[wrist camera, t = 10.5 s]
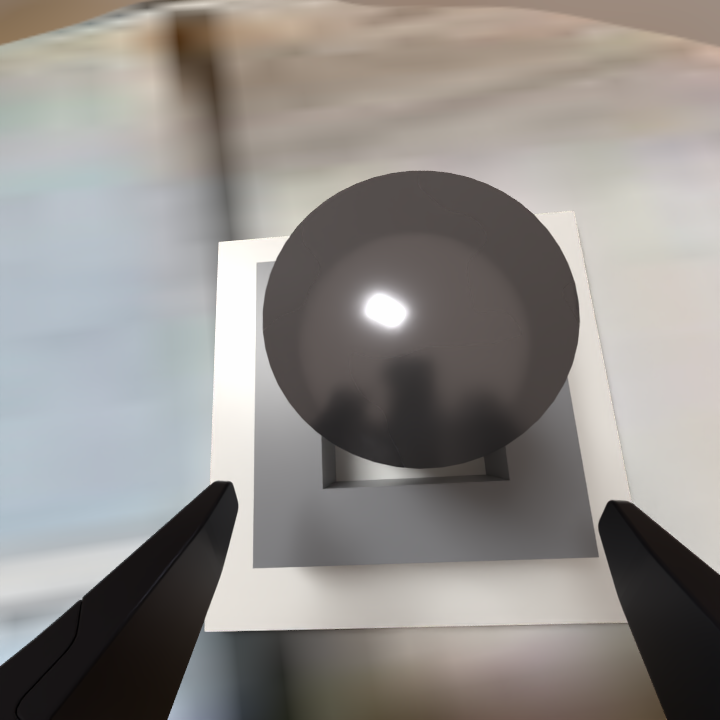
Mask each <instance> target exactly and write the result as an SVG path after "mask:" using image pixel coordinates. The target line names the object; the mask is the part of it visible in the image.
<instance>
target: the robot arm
mask: <svg viewBox="0 0 720 720" xmlns="http://www.w3.org/2000/svg"><path fill="white" fill-rule="evenodd" d="M238 506H239V505H238V499H237V496H236V492H235V489H234V485H233V483H232V482H231V481H220V480H218V481H215V482H213V483H212V484H211V485H209V486H208V487H207V488H206V489H205V490H204V491H203V492H201V493H200V494H199V495H198V496H197V497H196V498H195V499H193V500H192V501H191V502H190V503H189V504H188V505H187V506H186V507H184V508H183V509H182V510H181V511H180V512H179V513H178V514H176V515H175V516H174V517H173V518H172V519H171V520H170V521H169V522H167V523H166V524H165V525H164V526H163V527H162V528H161V529H159V530H158V531H157V532H156V533H155V534H154V535H153V536H152V537H150V538H149V539H148V540H147V541H146V542H145V543H144V544H142V545H141V546H140V547H139V548H138V549H137V550H136V551H134V552H133V553H132V554H131V555H130V556H129V557H128V558H127V559H125V560H124V561H123V562H122V563H121V564H120V565H119V566H117V567H116V568H115V569H114V570H113V571H112V572H111V573H110V574H108V575H107V576H106V577H105V578H104V579H103V580H102V581H100V582H99V583H98V584H97V585H96V586H95V587H94V588H93V589H91V590H90V591H89V592H88V593H87V594H86V595H85V596H84V597H83V598H82V600H79V601H78V602H76V603H75V604H74V605H73V606H72V607H71V608H70V609H69V610H67V611H66V612H65V613H64V614H63V615H62V616H61V617H59V618H58V619H57V620H56V621H55V622H53V623H52V624H51V625H50V626H49V627H48V628H46V629H45V630H44V631H43V632H42V633H41V634H39V635H38V636H37V637H36V638H35V639H33V640H32V641H31V642H30V643H28V644H27V645H26V646H25V647H23V648H22V649H21V650H20V651H18V652H17V653H16V654H15V655H13V656H12V657H11V658H10V659H8V660H7V661H6V662H5V663H3V664H2V665H1V666H0V720H167V719H168V716H169V714H170V711H171V708H172V706H173V703H174V700H175V698H176V695H177V692H178V690H179V687H180V684H181V682H182V679H183V676H184V674H185V671H186V668H187V666H188V663H189V660H190V657H191V655H192V652H193V649H194V647H195V644H196V641H197V639H198V636H199V633H200V631H201V628H202V625H203V623H204V620H205V617H206V615H207V612H208V609H209V607H210V604H211V601H212V598H213V596H214V593H215V590H216V588H217V585H218V582H219V579H220V577H221V574H222V570H223V567H224V563H225V560H226V556H227V552H228V548H229V544H230V540H231V536H232V533H233V529H234V525H235V521H236V517H237V513H238ZM598 531H599V535H600V538H601V542H602V545H603V549H604V552H605V555H606V559H607V562H608V566H609V569H610V572H611V576H612V579H613V583H614V586H615V589H616V593H617V596H618V599H619V602H620V604H621V607H622V609H623V612H624V615H625V617H626V619H627V622H628V624H629V627H630V629H631V632H632V634H633V637H634V639H635V642H636V644H637V647H638V649H639V651H640V654H641V656H642V659H643V661H644V664H645V666H646V669H647V671H648V674H649V676H650V679H651V681H652V683H653V686H654V688H655V691H656V693H657V696H658V698H659V701H660V703H661V706H662V708H663V710H664V713H665V715H666V718H667V720H720V575H719V574H718V573H717V572H716V571H714V570H713V569H712V568H711V567H710V566H708V565H707V564H706V563H705V562H703V561H702V560H701V559H700V558H699V557H697V556H696V555H695V554H694V553H692V552H691V551H690V550H689V549H688V548H686V547H685V546H684V545H683V544H682V543H680V542H679V541H678V540H677V539H675V538H674V537H673V536H672V535H671V534H669V533H668V532H667V531H666V530H664V529H663V528H662V527H661V526H660V525H658V524H657V523H656V522H655V521H654V520H652V519H651V518H650V517H649V516H647V515H646V514H645V513H644V512H643V511H641V510H640V509H639V508H638V507H636V506H635V505H634V504H633V503H631V502H629V501H625V500H610V501H608V502H607V504H606V506H605V509H604V511H603V513H602V515H601V517H600V519H599V522H598Z"/></svg>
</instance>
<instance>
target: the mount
mask: <svg viewBox="0 0 720 720" xmlns="http://www.w3.org/2000/svg"><path fill="white" fill-rule="evenodd" d="M534 215H535V216H536V217H537V218H538V219H539V221H540V222H541V223H542V224H543V225H544V226H545V227H546V228H547V229H548V231H549V232H550V233H551V235H552V236H553V238H554V239H555V240H556V242H557V243H558V245H559V246H560V248H561V250H562V252H563V254H564V256H565V258H566V260H567V262H568V264H569V267H570V270H571V272H572V275H573V278H574V281H575V285H576V290H577V295H578V300H579V313H580V327H579V338H578V345H577V349H576V353H575V357H574V361H573V364H572V367H571V369H570V372H569V374H568V377H567V379H566V382H565V384H564V385H563V387H562V389H561V390H560V392H559V394H558V395H557V397H556V399H555V400H554V402H553V403H552V404H551V406H550V407H549V408H548V409H547V411H546V412H545V413H544V414H543V415H542V417H541V418H540V419H539V420H538V421H537V422H536V423H535V424H533V425H532V426H531V427H530V428H529V429H528V430H527V431H526V432H525V433H524V434H522V435H521V436H519V437H518V438H516V439H515V440H513V441H512V442H511V443H509V444H508V445H506V446H504V447H502V448H500V449H498V450H496V451H494V452H492V453H490V454H488V455H486V456H484V457H481V458H478V459H475V460H472V461H469V462H466V463H463V464H458V465H452V466H447V467H442V468H425V469H414V468H402V467H394V466H389V465H384V464H380V463H375V462H372V461H369V460H367V459H364V458H361V457H358V456H355V455H353V454H351V453H349V452H347V451H345V450H343V449H341V448H340V447H338V446H336V445H334V444H333V443H331V442H330V441H328V440H327V439H325V438H324V437H323V436H321V435H320V434H318V433H317V432H316V431H315V430H314V429H313V428H312V427H311V426H309V425H308V424H307V423H306V422H305V421H304V420H303V419H302V418H301V417H300V416H299V414H298V413H297V412H296V411H295V409H294V408H293V407H292V406H291V405H290V403H289V402H288V400H287V399H286V397H285V395H284V394H283V392H282V390H281V389H280V387H279V386H278V383H277V381H276V379H275V377H274V374H273V372H272V370H271V367H270V364H269V360H268V357H267V353H266V350H265V343H264V336H263V304H264V296H265V291H266V287H267V283H268V280H269V276H270V273H271V271H272V268H273V266H274V263H275V261H276V258H277V256H278V255H279V253H280V251H281V249H282V248H283V246H284V244H285V242H286V241H287V240H288V238H289V237H290V236H283V237H272V238H260V239H249V240H238V241H227V242H219V253H218V280H217V307H216V334H215V362H214V389H213V416H212V443H211V471H210V485H211V484H212V483H213V482H215V481H218V480H220V481H231V482H232V483H233V485H234V489H235V492H236V496H237V499H238V505H239V506H238V513H237V517H236V521H235V525H234V529H233V533H232V536H231V540H230V544H229V548H228V552H227V556H226V560H225V563H224V567H223V570H222V574H221V577H220V579H219V582H218V585H217V588H216V590H215V593H214V596H213V598H212V601H211V604H210V607H209V609H208V612H207V615H206V617H205V632H213V631H260V630H306V629H352V628H399V627H445V626H491V625H538V624H584V623H628V622H627V619H626V617H625V615H624V612H623V609H622V607H621V604H620V602H619V599H618V596H617V593H616V589H615V586H614V583H613V579H612V576H611V572H610V569H609V566H608V562H607V559H606V555H605V552H604V549H603V545H602V542H601V538H600V535H599V531H598V522H599V519H600V517H601V515H602V513H603V511H604V509H605V506H606V504H607V502H608V501H610V500H625V501H629V502H631V503H632V501H631V496H630V491H629V486H628V481H627V476H626V471H625V466H624V461H623V456H622V450H621V445H620V440H619V435H618V430H617V425H616V420H615V415H614V410H613V405H612V400H611V395H610V390H609V385H608V380H607V375H606V370H605V365H604V360H603V355H602V350H601V345H600V340H599V335H598V330H597V325H596V319H595V314H594V309H593V304H592V299H591V294H590V289H589V284H588V279H587V274H586V269H585V264H584V259H583V254H582V249H581V244H580V239H579V234H578V229H577V224H576V219H575V214H574V211H565V212H554V213H542V214H534Z"/></svg>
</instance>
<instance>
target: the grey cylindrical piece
mask: <svg viewBox="0 0 720 720" xmlns="http://www.w3.org/2000/svg"><path fill="white" fill-rule="evenodd" d="M579 327H580V313H579V300H578V295H577V290H576V285H575V281H574V278H573V275H572V272H571V270H570V267H569V264H568V262H567V260H566V258H565V256H564V254H563V252H562V250H561V248H560V246H559V245H558V243H557V242H556V240H555V239H554V238H553V236H552V235H551V233H550V232H549V231H548V229H547V228H546V227H545V226H544V225H543V224H542V223H541V222H540V221H539V219H538V218H537V217H536V216H535V215H534V214H533V213H531V212H530V211H529V210H528V209H527V208H525V207H524V206H523V205H522V204H521V203H519V202H518V201H516V200H515V199H513V198H512V197H510V196H509V195H507V194H506V193H504V192H502V191H500V190H498V189H496V188H494V187H492V186H490V185H488V184H486V183H483V182H480V181H477V180H475V179H472V178H469V177H465V176H461V175H456V174H452V173H445V172H436V171H406V172H398V173H391V174H387V175H382V176H378V177H374V178H371V179H368V180H365V181H363V182H360V183H357V184H355V185H353V186H351V187H349V188H347V189H345V190H342V191H340V192H339V193H337V194H336V195H334V196H332V197H331V198H329V199H328V200H326V201H325V202H323V203H322V204H321V205H320V206H318V207H317V208H316V209H315V210H314V211H312V212H311V213H310V214H309V215H308V216H307V217H306V218H305V219H304V220H303V221H302V222H301V223H300V224H299V225H298V226H297V228H296V229H295V230H294V232H293V233H292V234H291V236H290V237H289V238H288V240H287V241H286V242H285V244H284V246H283V248H282V249H281V251H280V253H279V255H278V256H277V258H276V261H275V263H274V266H273V268H272V271H271V273H270V276H269V280H268V283H267V287H266V291H265V296H264V304H263V336H264V343H265V350H266V353H267V357H268V360H269V364H270V367H271V370H272V372H273V374H274V377H275V379H276V381H277V383H278V386H279V387H280V389H281V390H282V392H283V394H284V395H285V397H286V399H287V400H288V402H289V403H290V405H291V406H292V407H293V408H294V409H295V411H296V412H297V413H298V414H299V416H300V417H301V418H302V419H303V420H304V421H305V422H306V423H307V424H308V425H309V426H311V427H312V428H313V429H314V430H315V431H316V432H317V433H318V434H320V435H321V436H323V437H324V438H325V439H327V440H328V441H330V442H331V443H333V444H334V445H336V446H338V447H340V448H341V449H343V450H345V451H347V452H349V453H351V454H353V455H355V456H358V457H361V458H364V459H367V460H369V461H372V462H375V463H380V464H384V465H389V466H394V467H402V468H414V469H425V468H442V467H447V466H452V465H458V464H463V463H466V462H469V461H472V460H475V459H478V458H481V457H484V456H486V455H488V454H490V453H492V452H494V451H496V450H498V449H500V448H502V447H504V446H506V445H508V444H509V443H511V442H512V441H513V440H515V439H516V438H518V437H519V436H521V435H522V434H524V433H525V432H526V431H527V430H528V429H529V428H530V427H531V426H532V425H533V424H535V423H536V422H537V421H538V420H539V419H540V418H541V417H542V415H543V414H544V413H545V412H546V411H547V409H548V408H549V407H550V406H551V404H552V403H553V402H554V400H555V399H556V397H557V395H558V394H559V392H560V390H561V389H562V387H563V385H564V384H565V382H566V379H567V377H568V374H569V372H570V369H571V367H572V364H573V361H574V357H575V353H576V349H577V345H578V338H579Z"/></svg>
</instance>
